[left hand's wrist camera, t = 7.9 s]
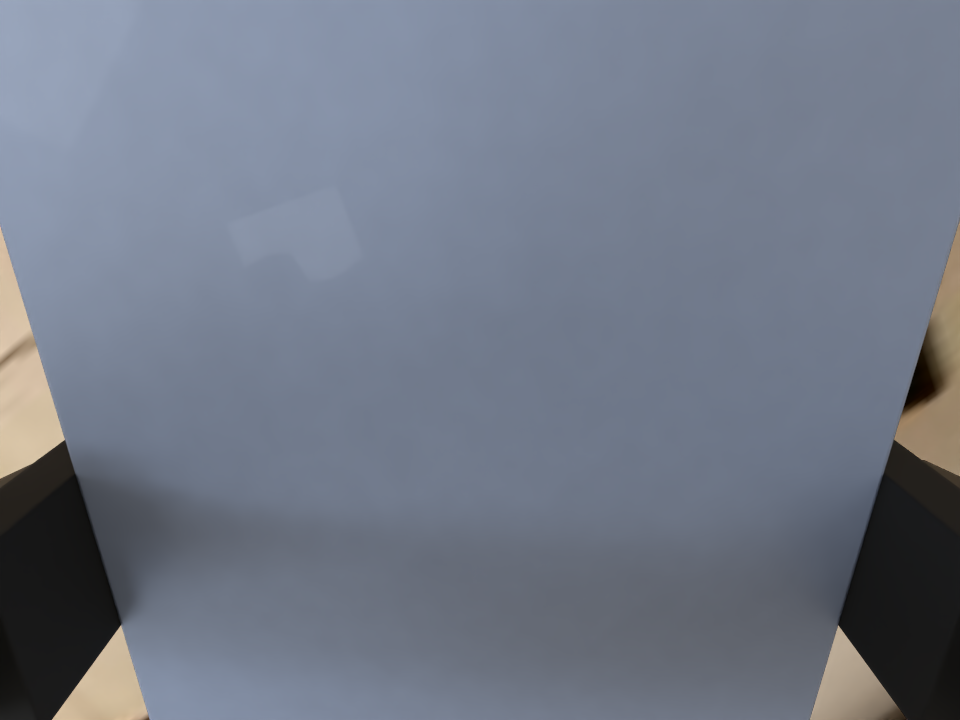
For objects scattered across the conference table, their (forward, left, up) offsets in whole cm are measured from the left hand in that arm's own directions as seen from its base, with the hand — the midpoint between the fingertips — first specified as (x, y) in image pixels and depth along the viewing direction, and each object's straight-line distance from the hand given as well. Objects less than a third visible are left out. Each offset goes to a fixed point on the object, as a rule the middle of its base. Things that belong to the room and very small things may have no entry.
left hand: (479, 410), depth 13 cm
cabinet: (+6, +1, -5) cm, 8 cm away
